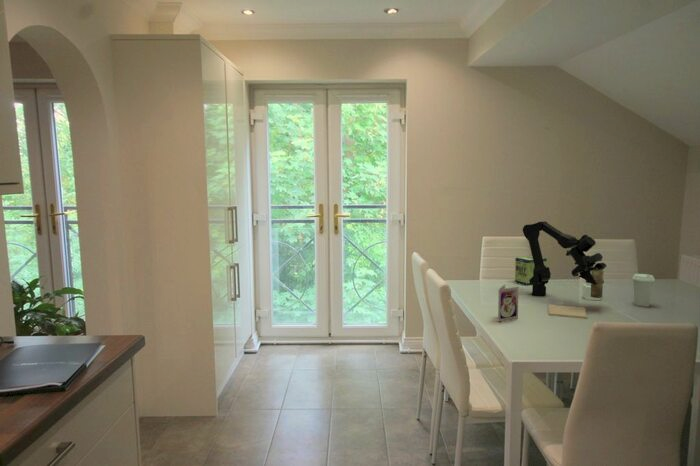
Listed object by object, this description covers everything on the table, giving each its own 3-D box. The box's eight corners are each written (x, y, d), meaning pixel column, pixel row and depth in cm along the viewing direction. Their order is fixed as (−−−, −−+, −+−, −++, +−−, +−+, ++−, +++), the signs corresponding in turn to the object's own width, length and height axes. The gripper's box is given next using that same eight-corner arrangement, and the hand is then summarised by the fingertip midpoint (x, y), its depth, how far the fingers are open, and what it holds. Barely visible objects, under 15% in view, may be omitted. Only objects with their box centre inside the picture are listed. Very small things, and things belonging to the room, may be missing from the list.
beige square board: (548, 315, 216) (548, 313, 216) (548, 306, 231) (548, 304, 231) (587, 318, 210) (587, 316, 210) (584, 309, 225) (584, 307, 224)
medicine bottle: (601, 300, 240) (602, 277, 239) (586, 300, 242) (587, 277, 241) (596, 297, 247) (597, 275, 246) (582, 296, 249) (583, 274, 247)
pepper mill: (590, 297, 222) (592, 270, 220) (590, 295, 226) (591, 268, 225) (602, 298, 220) (604, 271, 218) (601, 295, 224) (602, 269, 223)
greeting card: (499, 322, 206) (500, 289, 204) (488, 318, 213) (488, 286, 211) (519, 319, 210) (520, 287, 209) (507, 315, 217) (508, 283, 216)
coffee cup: (646, 308, 224) (647, 278, 223) (626, 304, 233) (628, 274, 231) (657, 305, 229) (659, 275, 227) (638, 301, 237) (639, 272, 235)
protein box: (514, 282, 286) (514, 257, 284) (533, 280, 292) (534, 255, 290) (527, 285, 276) (527, 260, 275) (546, 283, 282) (547, 258, 281)
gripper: (577, 249, 220) (597, 276, 211) (603, 246, 228) (624, 272, 219) (563, 263, 228) (581, 289, 219) (588, 259, 236) (608, 285, 227)
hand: (599, 283), depth 221 cm, fingers closed on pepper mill, 5 cm apart
